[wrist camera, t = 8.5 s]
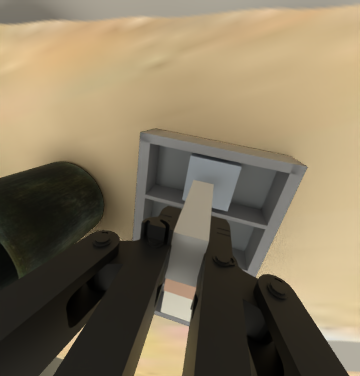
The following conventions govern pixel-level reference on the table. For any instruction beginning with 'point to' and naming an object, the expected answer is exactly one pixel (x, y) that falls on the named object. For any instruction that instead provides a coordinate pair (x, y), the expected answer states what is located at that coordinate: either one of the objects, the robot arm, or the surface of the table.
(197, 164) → the key slate
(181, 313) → the key ivory
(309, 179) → the table surface
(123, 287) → the robot arm
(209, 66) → the table surface
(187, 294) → the block
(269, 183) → the grey compartment rack
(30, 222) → the mug
